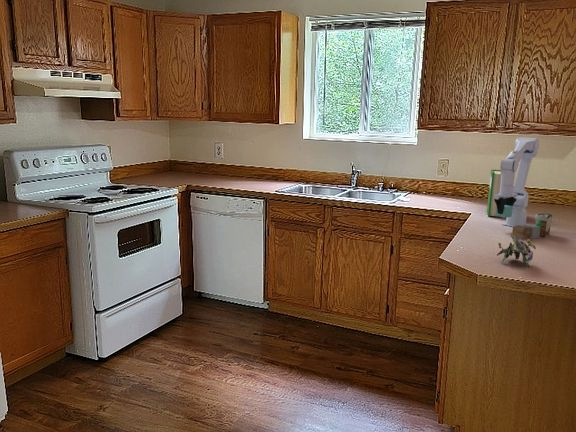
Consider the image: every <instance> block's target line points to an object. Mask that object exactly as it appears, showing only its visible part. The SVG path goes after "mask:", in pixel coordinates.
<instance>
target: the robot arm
mask: <svg viewBox="0 0 576 432" xmlns="http://www.w3.org/2000/svg"><path fill="white" fill-rule="evenodd" d="M514 143H515V144H514V147H515V148H514V149H513V150H512V151H510V153H509V154H508V155H507V157H506V158H504V159H502V160H501V161H500V165H499V166H500V169H499V170H501V184H500V193H499V194H496V195H494V201H495V203H496V206H497V211H498V214H503V210H504V206H505V205H508V206H513V208H512V217H506V219H505V222H504V223H501V225H504V226H507V227H512V228H513V226H519V225H520V226H524V225H527V217H528V215H527V214H528V212H527V209H526V208H527V207H528V204H529V193H528V192H527V190H525V187H526V184H527V183H526V182H527V179H528V175H529V171H530V166H531V164H532V160H533V158H535V157H537V154H538V151H539V147H540V140H539V138H537V137H520V136H519V137H516V139H515V142H514ZM516 172H517V173H516ZM515 174H516V175H515ZM515 176H516V177H515ZM503 198H504V199H503Z"/></svg>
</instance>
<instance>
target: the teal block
mask: <svg viewBox="0 0 576 432" xmlns="http://www.w3.org/2000/svg"><path fill="white" fill-rule="evenodd" d="M512 208H513V206H508V205H505V206H504V210H503V214H498V211H497V208H496V216H495V217H498V218H501V217H503V219H504V218H507V217H512Z"/></svg>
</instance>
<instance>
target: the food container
mask: <svg viewBox="0 0 576 432" xmlns="http://www.w3.org/2000/svg"><path fill="white" fill-rule="evenodd" d="M552 218H553V212H537V213H536V214H535V216H534V219H535V226H540V227H541V230H540V237H539V238H543V239H546V238H547V237H548V236H549V235H550V230H551V224H552V220H553V219H552Z"/></svg>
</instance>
